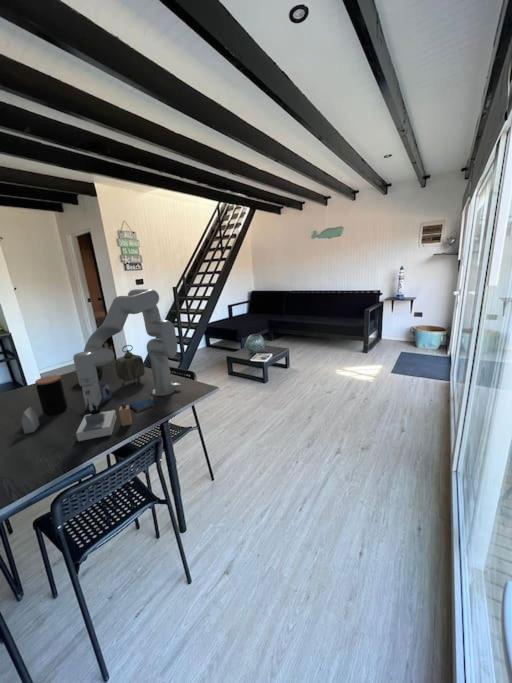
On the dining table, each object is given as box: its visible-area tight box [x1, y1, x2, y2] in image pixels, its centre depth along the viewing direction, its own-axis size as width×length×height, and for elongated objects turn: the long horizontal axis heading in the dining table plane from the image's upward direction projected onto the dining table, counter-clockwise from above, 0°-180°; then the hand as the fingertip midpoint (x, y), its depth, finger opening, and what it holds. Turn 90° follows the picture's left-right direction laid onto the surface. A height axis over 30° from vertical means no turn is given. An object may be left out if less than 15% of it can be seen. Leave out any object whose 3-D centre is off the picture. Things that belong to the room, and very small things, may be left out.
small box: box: [98, 380, 113, 407], centre depth 158 cm, size 11×6×10 cm, turn 168°
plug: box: [118, 402, 133, 427], centre depth 135 cm, size 4×4×10 cm
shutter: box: [83, 412, 105, 432], centre depth 127 cm, size 7×7×4 cm
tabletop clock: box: [115, 344, 146, 386], centre depth 180 cm, size 14×9×25 cm, turn 144°
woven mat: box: [128, 397, 156, 413], centre depth 153 cm, size 10×11×2 cm
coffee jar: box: [34, 374, 68, 417], centre depth 149 cm, size 11×11×18 cm
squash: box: [75, 365, 104, 381], centre depth 189 cm, size 14×15×15 cm
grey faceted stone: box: [21, 406, 41, 435], centre depth 134 cm, size 4×7×10 cm, turn 18°
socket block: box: [75, 409, 117, 442], centre depth 132 cm, size 13×16×4 cm
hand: (96, 417), depth 132 cm, fingers closed
